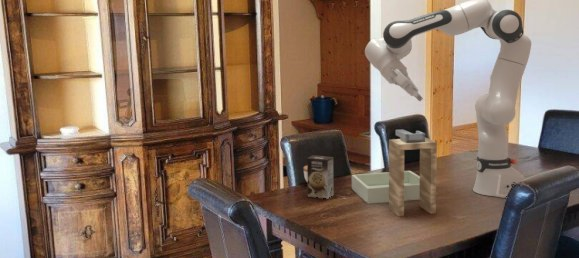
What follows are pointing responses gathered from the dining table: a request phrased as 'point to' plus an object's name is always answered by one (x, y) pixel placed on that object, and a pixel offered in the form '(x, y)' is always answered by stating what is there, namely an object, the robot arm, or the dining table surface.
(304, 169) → the lidded jar
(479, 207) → the dining table surface
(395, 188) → the birch stand
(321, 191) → the cookie box
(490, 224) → the dining table surface
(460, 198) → the dining table surface
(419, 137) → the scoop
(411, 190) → the pale green tray
